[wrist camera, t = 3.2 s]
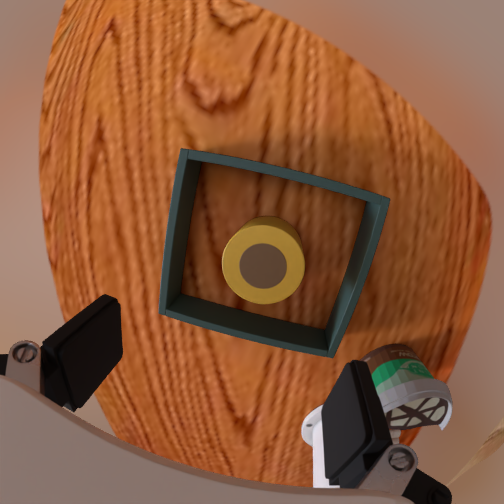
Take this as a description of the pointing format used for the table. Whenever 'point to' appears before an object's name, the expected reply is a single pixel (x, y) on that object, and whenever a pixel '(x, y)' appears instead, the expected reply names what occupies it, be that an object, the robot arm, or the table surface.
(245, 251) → the tape roll
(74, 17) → the table surface
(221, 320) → the dark green rectangular frame
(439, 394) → the food container
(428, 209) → the table surface
